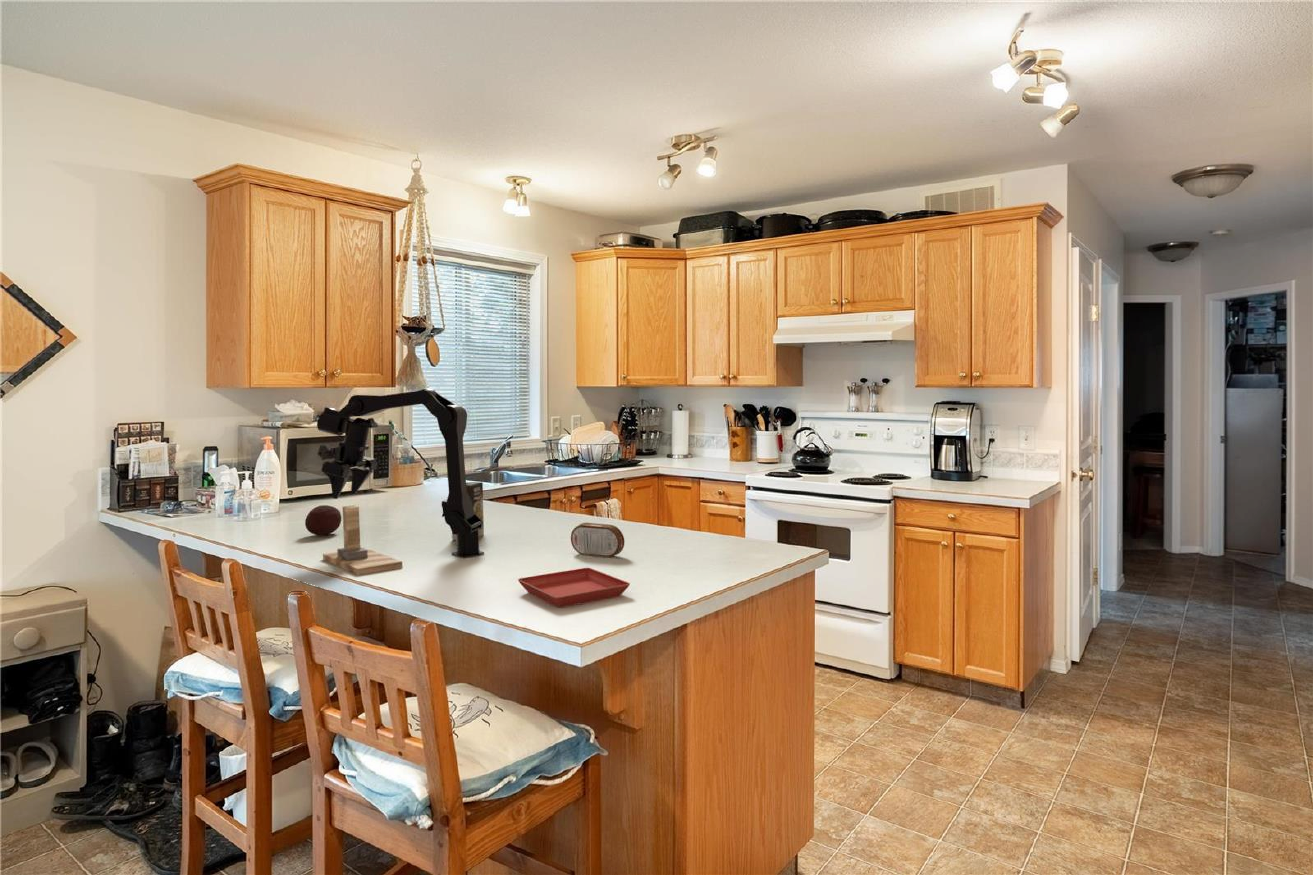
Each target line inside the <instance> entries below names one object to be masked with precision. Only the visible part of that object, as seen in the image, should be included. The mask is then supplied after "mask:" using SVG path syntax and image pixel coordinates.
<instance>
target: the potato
mask: <svg viewBox="0 0 1313 875" xmlns="http://www.w3.org/2000/svg"><path fill="white" fill-rule="evenodd" d="M304 523H305V524H304V525H305V528H306V529H307V531H308V532H309V533H310V534H312V535H315V536H319V537H320V536H327V535H330V534H332V533H334V532H336V531H337V530H338V529H339V527H340V526H341V523H342V513H341V511H340V510H339V509H338V508H336V507H335V506H332V505H328V504H327V505H326V504H325V505H318V506H315V507H314V508H312V509H311V510H310V511H309V512H308V514H307V515H306V518H305V521H304Z"/></svg>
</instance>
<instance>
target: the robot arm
mask: <svg viewBox="0 0 1313 875" xmlns="http://www.w3.org/2000/svg"><path fill="white" fill-rule="evenodd" d="M419 405H420V406H421V405H423V406H424V407H425V408H426V409H427V411H428V412H429V413H430V414H431V415H432V416H433V417H435V418H436V420H437V425H438V427H439V431H440V433H441V435H442V437H443V439H444V444H445V460H446V461H445V462H446V470H447V471H446V472H447V483H448V484H447V486H448V496H447V498H446V499H444V500H442V501H441V508H442V515H441V518H444V522H445V523H446V524H447V525H448V526H449V528H450V531H451V534H452V533H453V534H456V540H455V541H456V551H452V552H451V555H453V556H456V557H458V558H462V559H463V558H470V557H471V558H472V557H475V556H480V555H481V556H482V555H485V552H484V551H481V550H480V541H479V538H480V537H479V534H478V530H479V529H481V528H482V525H483V521H482V520H481V519H480V518H479V517H478V516H477V515H476V514H475V513H474V509H473V505H472V501H471V499H470V497H469V495H468V493H467V489H466V483H467V479H466V478H467V476H466V467H465V466H466V465H465V451H464V435H465V432H466V430H467V421H468V412H467V410H466V409H465V408H464V407H463V406H461V405H459V404H457V405H456V404H455V403H454V402H452V401H451V400H450V399H448V398H446V397H444V396H442V395H441V394H439V393H438V392H437V391H436V390H435V389H432V388H421V389H419V390H414V391H408V392H407V391H406V392H399V393H392V394H391V393H390V394H385V395H382V394H353V395H352V396H350V398H349V399H348V402H347V404H346V405H345V406H343V407H342V408H341V409H340V410H339V409H335V408H334V407H331V406H328V407H327V406H326V407H324V408H323V410H324V411H323V412H321V414H320V415H319V418H317V421H316V427H317V430H318V431H319V432H323V433H327V434H330V435H334V436H338V437H340V436H342V435H344V438H343V441H340V442H339V443H338V446H332V447H331V446H330V444H322V445H319V448H318V451H317V455H318V456H319V457H320V459H321V461H324V462H323V463H322V464H321V468H320V472H323V474H324V475H325V476H327V477H328V479H329V482H330V485H331V486H330V487H331V494H332V498H333V499H336V500H337V499H338V498H339V497H340V495H341V493H342V491H343V489H344V487H345V485H346V484H347V482H348V480H349V478H350V476H349V475H350V473H352V476H351V491H350V493H351V494H352V495H356V493H358V491H359V490H360V489H361V487H362V486H363V484H364V483H365V482H366V480H368V478H369V477H370V476H371V474H373V473H374V470H377V466H378V461H377V460H376V458H372V457H369V456H365V453H366V450H369V448H370V446H369V445H367V443H368V437H369V432H370V429H375V428H379V425H378V423H377V422H376V421H375V419H374V417H370V418H367V419H366V418H362V417H369V416H373V415H376V414H379V413H382V412H384V411H386V410H389V409H396V408H404V407H410V406H419ZM353 417H355V419H353ZM331 459H332V460H331ZM333 459H334V460H333ZM325 460H326V461H325Z"/></svg>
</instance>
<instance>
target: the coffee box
mask: <svg viewBox="0 0 1313 875" xmlns="http://www.w3.org/2000/svg"><path fill="white" fill-rule="evenodd" d="M483 484H484V482H481V481H478V482H477V481H475V482H474V481H473V482H470V481H469V482H466V489H467V493H468V495H469V497H470V499H471V501H472V505H473V509H474V513H475V514H476V515H477V516H478V517H479V518H480V519H481V520H482V521H483V525H482V528H481V529H479V530H478V534H479V538H480V537H482V536H484V534H485V524H484V492H483V491H484V488H483V486H484V485H483ZM451 540H453V541H456V534H453V533H452V532H451Z"/></svg>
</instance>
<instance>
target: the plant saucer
mask: <svg viewBox="0 0 1313 875" xmlns="http://www.w3.org/2000/svg"><path fill="white" fill-rule="evenodd" d="M517 581H518V582H519V584H520V585H521V586H522V587H523V589H524V590H526V591H527V593H529V594H530V595H532V596H534V597H536V598H538V599H540V600H542V601H544V602H546V603H548V604H551V606H554V607H557V608H565V607H571V606H574V605H575V606H576V605H580V604H585V603H591V602H595V601H600V600H606V599H612V598H616V597H617V598H618V597H620V596H622V595H623V593H624V592H625V591H626V590H627V589H628V588H629V587H630V585H631V583H630V582H628V581H625V580H622V579H620V578H618V577H616V576H612V575H610V574H606V573H604V572H602V571H599V570H597V569H593V568H591V567H582V568H576V569H570V570H564V571H558V572H552V573H546V574H545V573H544V574H538V575H532V576H526V577H520V578H517Z"/></svg>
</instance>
